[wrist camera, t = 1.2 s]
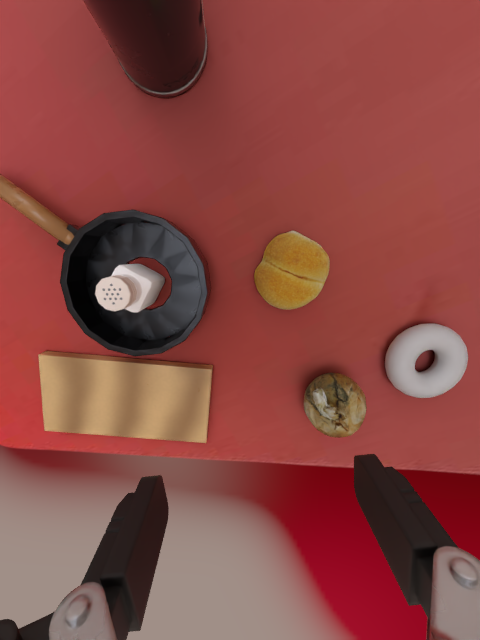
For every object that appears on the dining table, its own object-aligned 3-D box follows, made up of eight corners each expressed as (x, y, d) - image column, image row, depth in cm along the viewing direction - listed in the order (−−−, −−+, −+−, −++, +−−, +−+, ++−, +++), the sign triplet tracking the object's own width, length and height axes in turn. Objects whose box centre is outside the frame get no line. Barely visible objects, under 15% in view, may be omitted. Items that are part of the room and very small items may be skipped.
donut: (452, 313, 35) (376, 328, 35) (475, 319, 32) (391, 336, 32) (453, 382, 38) (382, 396, 38) (475, 395, 34) (397, 410, 34)
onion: (293, 415, 38) (308, 456, 30) (300, 363, 36) (318, 392, 29) (346, 418, 38) (374, 460, 31) (356, 366, 37) (388, 396, 29)
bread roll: (244, 292, 34) (245, 296, 30) (276, 224, 32) (281, 219, 28) (302, 318, 35) (311, 326, 31) (336, 253, 33) (349, 253, 29)
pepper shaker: (125, 289, 34) (83, 302, 25) (138, 261, 33) (100, 263, 24) (154, 305, 34) (124, 323, 25) (168, 277, 34) (141, 285, 24)
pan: (235, 272, 34) (235, 275, 29) (163, 366, 36) (153, 380, 32) (38, 116, 29) (6, 94, 25) (-27, 235, 32) (-65, 232, 28)
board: (51, 424, 38) (44, 430, 37) (46, 350, 36) (38, 354, 34) (207, 436, 39) (206, 443, 37) (213, 364, 36) (211, 369, 35)
